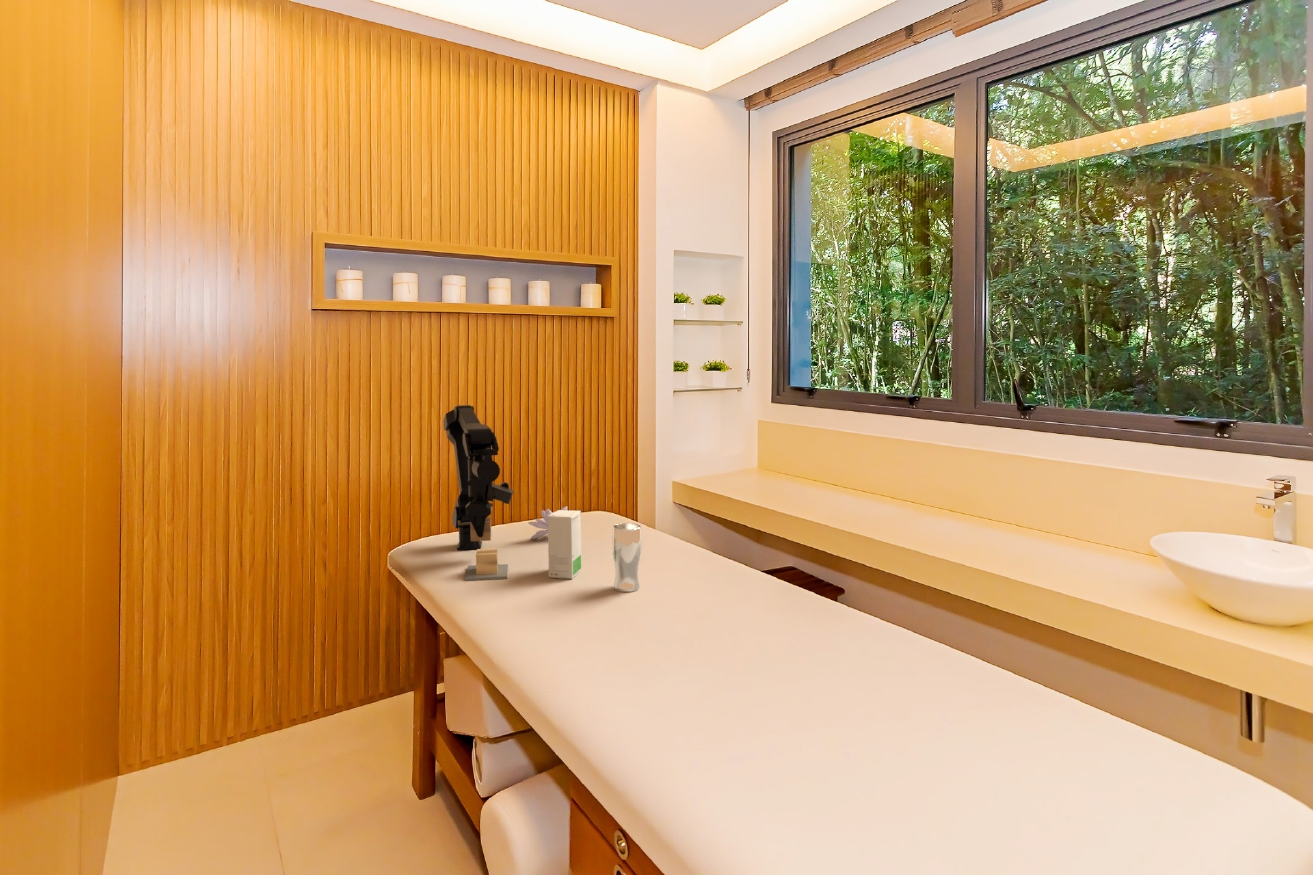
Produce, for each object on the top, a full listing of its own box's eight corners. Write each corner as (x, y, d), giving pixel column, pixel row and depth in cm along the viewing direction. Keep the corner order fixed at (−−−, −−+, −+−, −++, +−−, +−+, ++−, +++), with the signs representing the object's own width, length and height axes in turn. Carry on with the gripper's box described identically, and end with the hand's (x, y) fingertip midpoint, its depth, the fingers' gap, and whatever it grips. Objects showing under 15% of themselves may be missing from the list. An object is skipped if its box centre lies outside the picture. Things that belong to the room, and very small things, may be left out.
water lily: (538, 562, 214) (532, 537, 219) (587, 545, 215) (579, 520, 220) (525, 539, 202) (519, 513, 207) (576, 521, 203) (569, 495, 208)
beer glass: (611, 583, 175) (611, 522, 173) (640, 582, 175) (640, 522, 173) (612, 593, 168) (612, 530, 166) (642, 592, 169) (642, 529, 167)
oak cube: (477, 568, 183) (477, 549, 183) (497, 567, 184) (497, 548, 184) (476, 574, 178) (475, 554, 178) (497, 573, 179) (496, 553, 179)
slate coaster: (468, 568, 185) (467, 565, 185) (507, 566, 187) (507, 564, 187) (464, 580, 176) (464, 578, 176) (507, 578, 177) (506, 576, 177)
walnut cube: (471, 536, 193) (471, 517, 192) (491, 535, 194) (490, 517, 193) (470, 541, 188) (470, 522, 187) (490, 540, 189) (490, 521, 188)
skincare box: (572, 579, 177) (571, 517, 175) (546, 577, 178) (545, 516, 176) (582, 569, 185) (582, 509, 183) (557, 567, 186) (557, 508, 184)
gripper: (510, 481, 181) (511, 542, 183) (511, 469, 199) (512, 524, 201) (464, 483, 179) (466, 544, 181) (469, 470, 197) (471, 526, 199)
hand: (480, 534), depth 191 cm, fingers closed on walnut cube, 5 cm apart
